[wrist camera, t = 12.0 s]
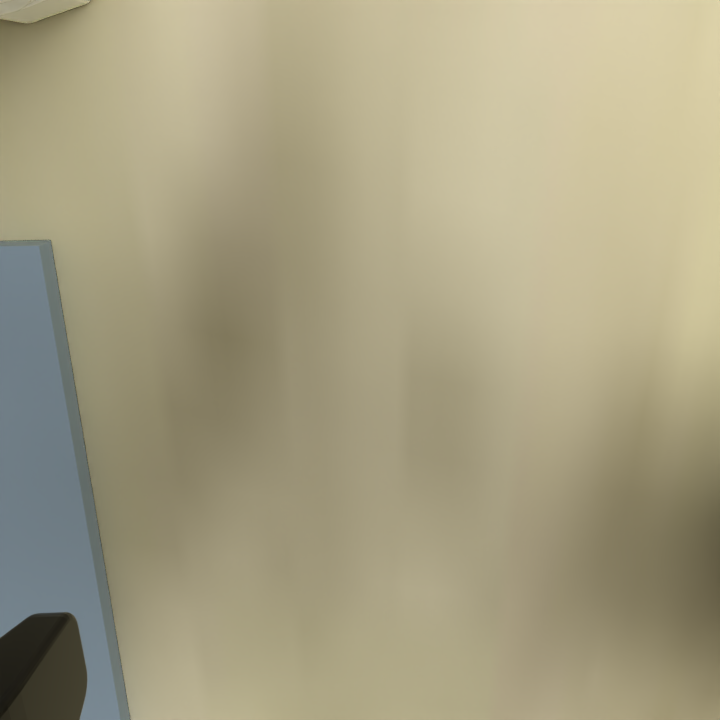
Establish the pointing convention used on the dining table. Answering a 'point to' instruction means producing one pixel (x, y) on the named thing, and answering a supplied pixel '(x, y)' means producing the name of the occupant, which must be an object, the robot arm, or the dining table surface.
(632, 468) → the dining table surface
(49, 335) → the blue square board
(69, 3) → the white cup
